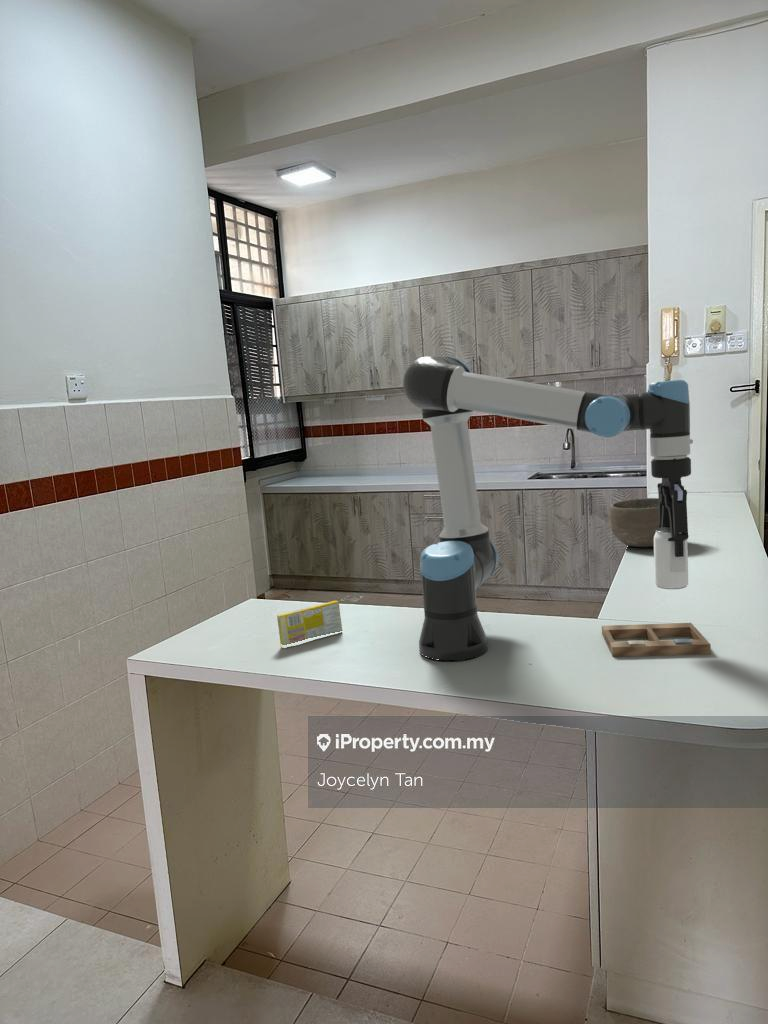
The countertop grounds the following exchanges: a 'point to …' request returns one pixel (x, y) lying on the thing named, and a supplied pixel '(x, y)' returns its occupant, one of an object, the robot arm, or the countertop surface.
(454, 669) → the countertop surface
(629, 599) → the countertop surface
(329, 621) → the candy box
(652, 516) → the bowl
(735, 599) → the countertop surface
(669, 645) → the socket board
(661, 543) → the can
